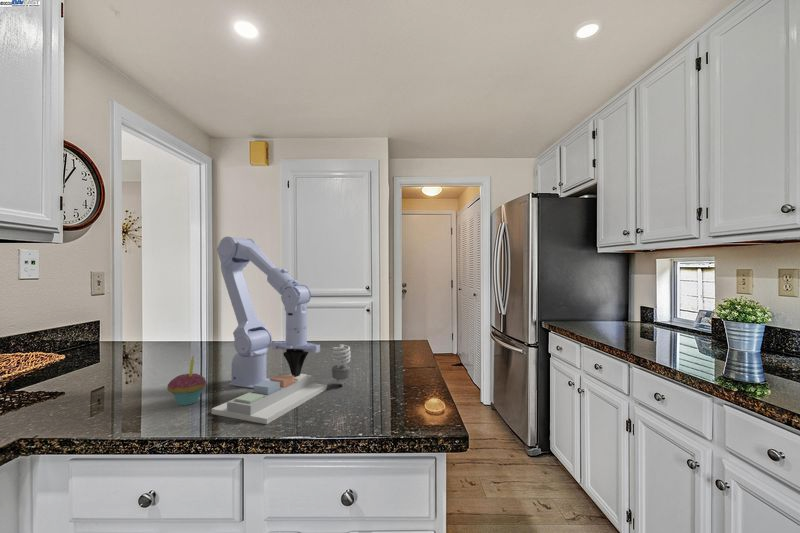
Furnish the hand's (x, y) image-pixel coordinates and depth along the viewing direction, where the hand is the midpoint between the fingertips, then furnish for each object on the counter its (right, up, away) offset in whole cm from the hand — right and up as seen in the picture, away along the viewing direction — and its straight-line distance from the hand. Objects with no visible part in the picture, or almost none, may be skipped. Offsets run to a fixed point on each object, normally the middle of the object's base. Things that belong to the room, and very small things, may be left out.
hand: (296, 376), depth 103 cm
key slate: (-4, -1, -11) cm, 12 cm away
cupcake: (-25, -4, -10) cm, 27 cm away
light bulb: (+12, -4, +4) cm, 13 cm away
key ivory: (0, -2, 0) cm, 2 cm away
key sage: (-6, -2, -17) cm, 18 cm away
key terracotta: (-2, -1, -6) cm, 6 cm away
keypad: (-3, -4, -8) cm, 10 cm away
